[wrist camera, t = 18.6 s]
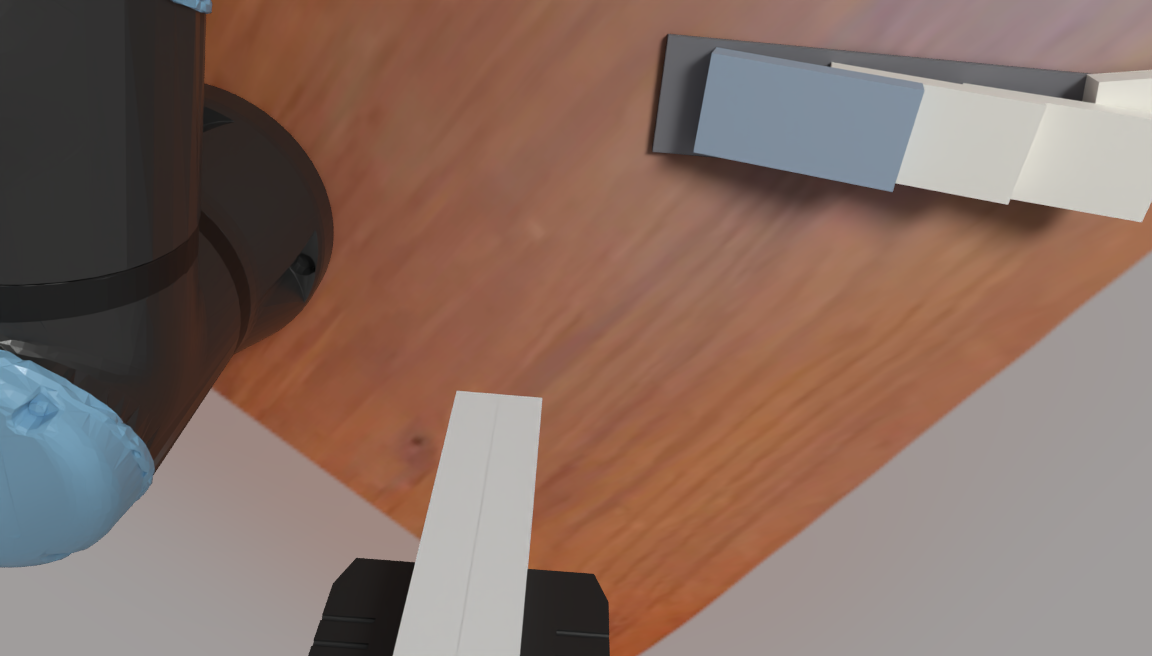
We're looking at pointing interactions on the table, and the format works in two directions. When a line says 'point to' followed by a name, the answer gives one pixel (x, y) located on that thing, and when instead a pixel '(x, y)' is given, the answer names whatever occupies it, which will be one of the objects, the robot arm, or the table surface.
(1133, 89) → the tile
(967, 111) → the tile
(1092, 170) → the tile
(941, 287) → the table surface
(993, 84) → the strip
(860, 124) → the blue-grey tile
